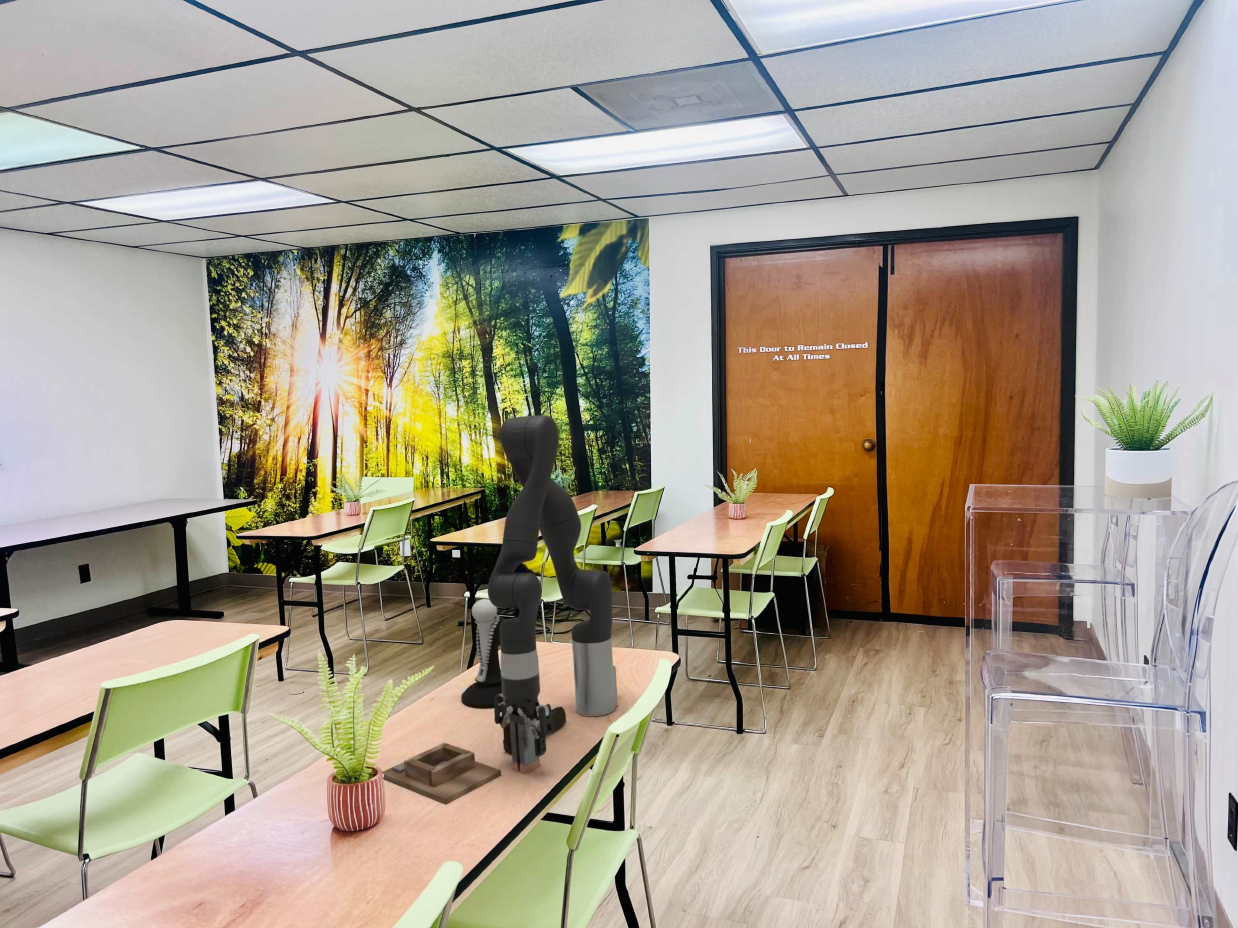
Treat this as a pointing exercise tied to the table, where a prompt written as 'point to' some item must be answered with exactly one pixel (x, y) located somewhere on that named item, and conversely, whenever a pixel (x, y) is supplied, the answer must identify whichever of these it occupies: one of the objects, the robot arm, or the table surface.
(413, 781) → the stand
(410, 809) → the table surface
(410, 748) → the table surface
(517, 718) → the grey square peg
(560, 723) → the dark wooden branch
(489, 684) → the sculpture
